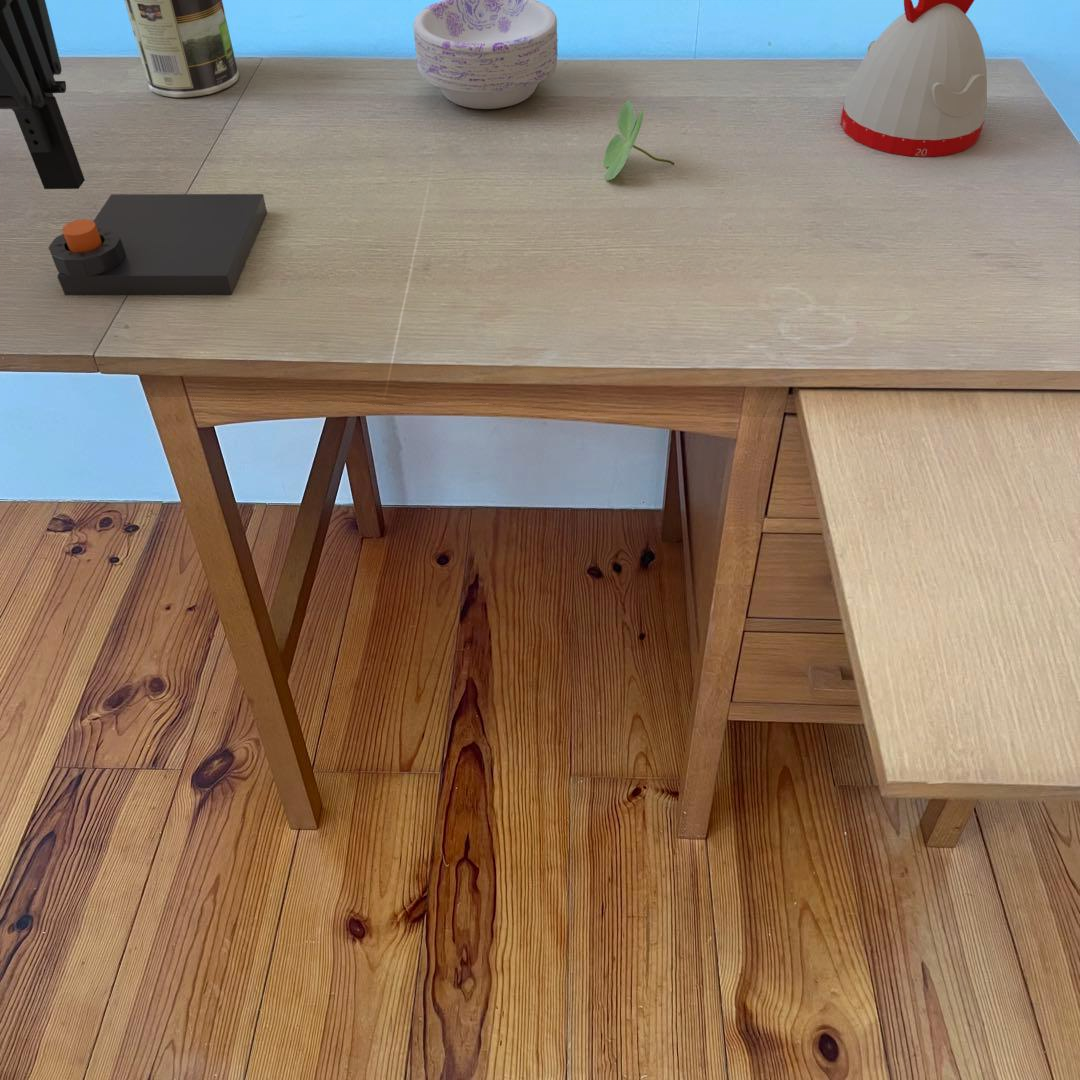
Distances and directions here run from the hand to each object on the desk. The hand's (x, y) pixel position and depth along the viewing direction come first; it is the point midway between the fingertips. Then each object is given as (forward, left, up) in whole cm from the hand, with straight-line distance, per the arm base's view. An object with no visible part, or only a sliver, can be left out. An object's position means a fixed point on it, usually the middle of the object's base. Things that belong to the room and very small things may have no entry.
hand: (64, 184), depth 79 cm
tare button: (0, 0, -5) cm, 5 cm away
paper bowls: (+31, +39, -9) cm, 50 cm away
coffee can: (-3, +43, -9) cm, 44 cm away
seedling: (+46, +20, -9) cm, 51 cm away
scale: (+5, +5, -9) cm, 11 cm away
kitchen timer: (+75, +30, -9) cm, 81 cm away
